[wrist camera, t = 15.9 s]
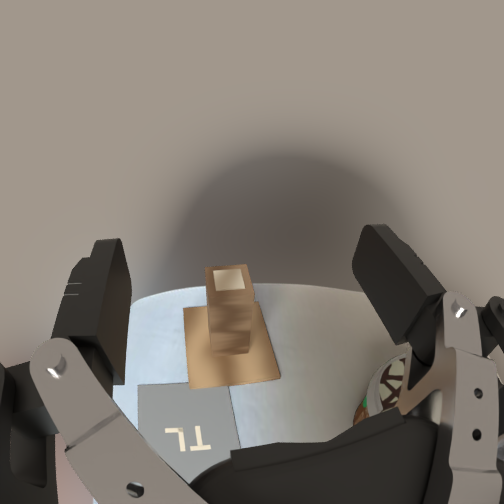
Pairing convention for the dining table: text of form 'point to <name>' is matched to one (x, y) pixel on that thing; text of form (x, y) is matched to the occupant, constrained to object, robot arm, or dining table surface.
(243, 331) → the walnut block
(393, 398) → the food container
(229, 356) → the cork pad
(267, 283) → the dining table surface
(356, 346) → the dining table surface
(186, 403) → the tile
